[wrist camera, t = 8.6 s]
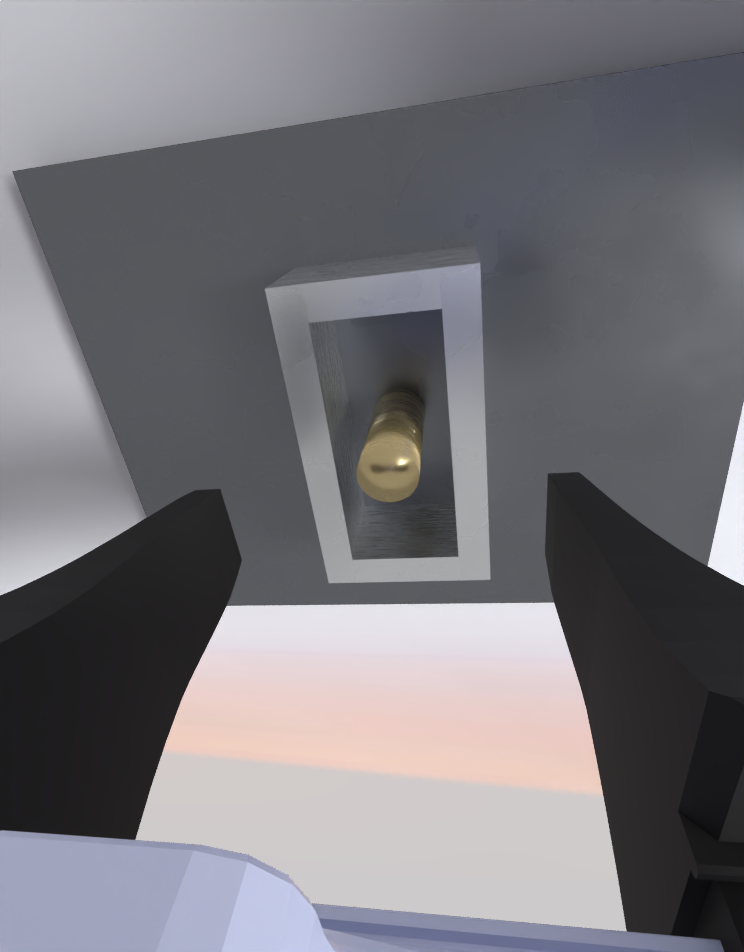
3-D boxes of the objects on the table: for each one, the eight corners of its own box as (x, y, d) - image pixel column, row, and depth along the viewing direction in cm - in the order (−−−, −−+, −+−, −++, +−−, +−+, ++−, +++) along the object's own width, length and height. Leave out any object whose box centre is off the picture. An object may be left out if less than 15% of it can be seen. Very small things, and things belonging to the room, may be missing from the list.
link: (295, 267, 15) (264, 288, 13) (474, 245, 15) (480, 262, 12) (344, 528, 20) (328, 583, 17) (484, 523, 19) (490, 579, 16)
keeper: (797, 48, 13) (979, -14, 8) (688, 582, 20) (754, 695, 16) (35, 170, 16) (-118, 173, 12) (191, 589, 24) (133, 684, 19)
